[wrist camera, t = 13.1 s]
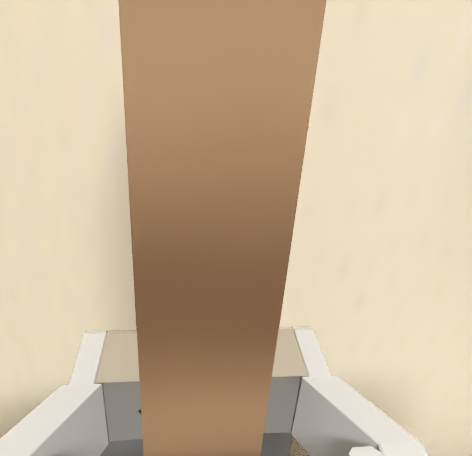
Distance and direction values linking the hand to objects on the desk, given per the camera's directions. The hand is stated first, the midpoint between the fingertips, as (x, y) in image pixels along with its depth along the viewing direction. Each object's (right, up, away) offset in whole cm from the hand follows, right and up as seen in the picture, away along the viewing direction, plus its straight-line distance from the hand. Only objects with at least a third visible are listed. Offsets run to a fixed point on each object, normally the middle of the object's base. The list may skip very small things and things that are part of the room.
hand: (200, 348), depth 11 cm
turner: (0, 0, +2) cm, 2 cm away
